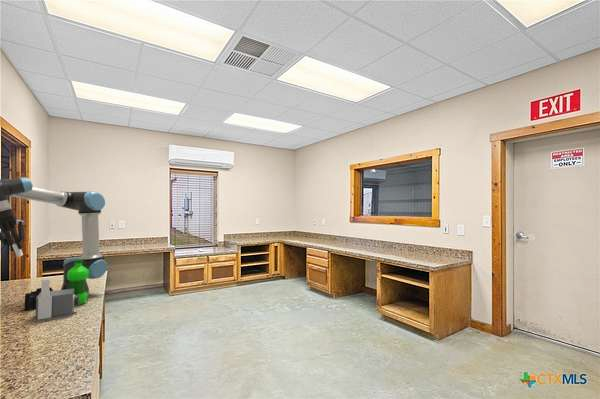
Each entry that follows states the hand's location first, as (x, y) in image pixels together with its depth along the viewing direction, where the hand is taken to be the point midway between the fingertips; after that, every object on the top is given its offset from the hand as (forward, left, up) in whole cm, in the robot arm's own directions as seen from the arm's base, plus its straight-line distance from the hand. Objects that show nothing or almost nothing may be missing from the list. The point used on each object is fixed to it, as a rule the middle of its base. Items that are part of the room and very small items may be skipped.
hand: (20, 255), depth 150 cm
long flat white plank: (+10, +11, -30) cm, 33 cm away
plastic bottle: (-13, +23, -31) cm, 40 cm away
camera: (-17, +7, -31) cm, 36 cm away
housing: (+3, +16, -31) cm, 35 cm away
